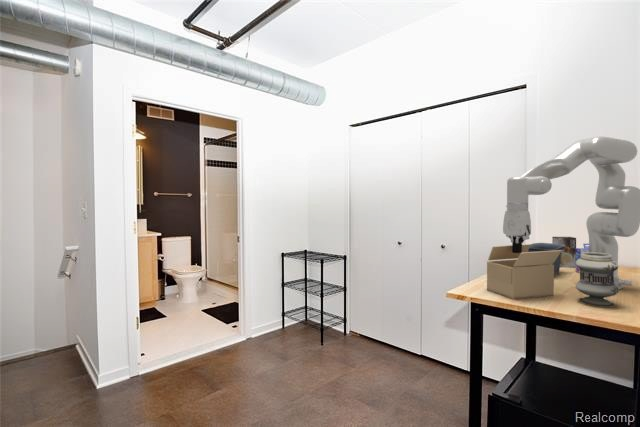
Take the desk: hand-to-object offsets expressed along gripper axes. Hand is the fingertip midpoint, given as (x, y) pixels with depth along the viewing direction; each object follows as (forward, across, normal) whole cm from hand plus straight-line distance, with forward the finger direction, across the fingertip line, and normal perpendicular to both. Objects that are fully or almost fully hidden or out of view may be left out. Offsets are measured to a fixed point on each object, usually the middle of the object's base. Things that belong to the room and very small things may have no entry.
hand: (517, 252), depth 138 cm
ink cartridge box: (+16, -17, +60) cm, 65 cm away
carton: (+16, +1, 0) cm, 16 cm away
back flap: (+1, -4, 0) cm, 4 cm away
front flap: (+1, +10, 0) cm, 10 cm away
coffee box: (+16, -33, +63) cm, 73 cm away
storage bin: (+16, -22, +37) cm, 46 cm away
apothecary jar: (+16, +20, +15) cm, 30 cm away
